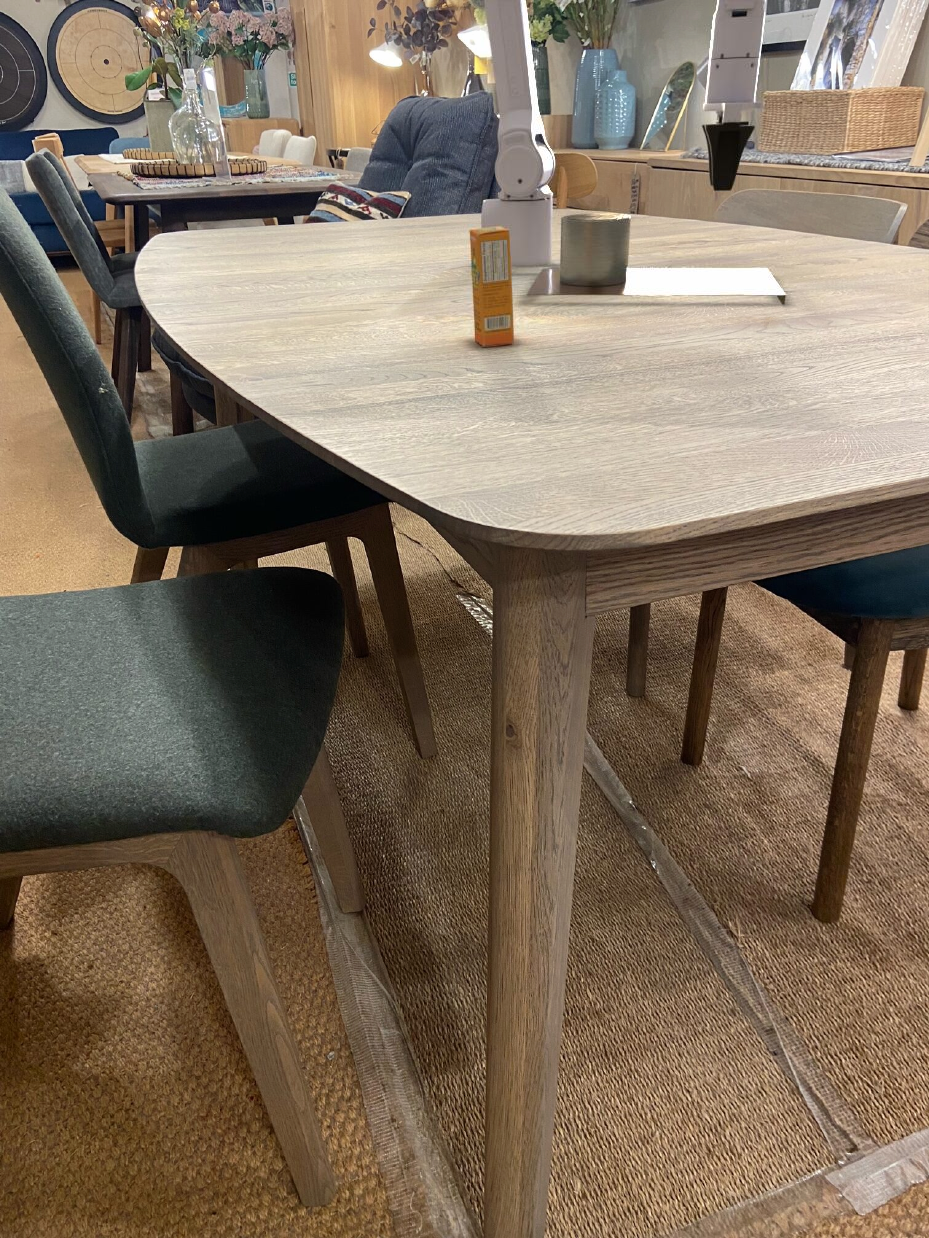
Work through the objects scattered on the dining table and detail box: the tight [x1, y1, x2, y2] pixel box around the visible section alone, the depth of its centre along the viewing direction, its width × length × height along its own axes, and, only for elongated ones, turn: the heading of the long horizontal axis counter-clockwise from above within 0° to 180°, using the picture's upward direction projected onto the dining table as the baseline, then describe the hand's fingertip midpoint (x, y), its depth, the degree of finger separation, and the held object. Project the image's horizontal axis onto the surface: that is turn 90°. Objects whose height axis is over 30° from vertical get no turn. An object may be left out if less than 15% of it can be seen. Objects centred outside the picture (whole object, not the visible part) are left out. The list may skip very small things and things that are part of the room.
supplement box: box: [468, 226, 515, 348], centre depth 82 cm, size 3×3×10 cm
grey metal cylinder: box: [559, 212, 632, 286], centre depth 104 cm, size 8×8×7 cm
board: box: [526, 267, 787, 305], centre depth 105 cm, size 28×18×1 cm, turn 80°
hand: (720, 188), depth 110 cm, fingers open, 7 cm apart
